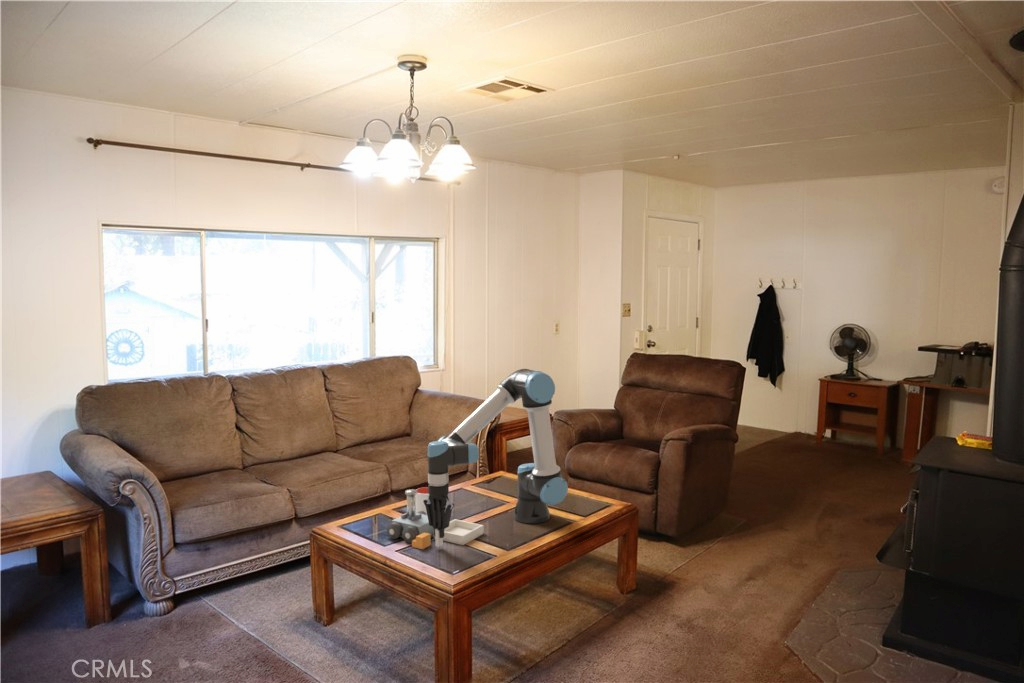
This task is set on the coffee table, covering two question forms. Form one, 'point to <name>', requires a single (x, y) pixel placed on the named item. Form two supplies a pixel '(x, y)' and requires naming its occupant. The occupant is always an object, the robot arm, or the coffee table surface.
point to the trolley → (409, 527)
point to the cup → (421, 499)
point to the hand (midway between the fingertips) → (439, 545)
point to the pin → (411, 503)
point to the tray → (462, 531)
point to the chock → (422, 541)
